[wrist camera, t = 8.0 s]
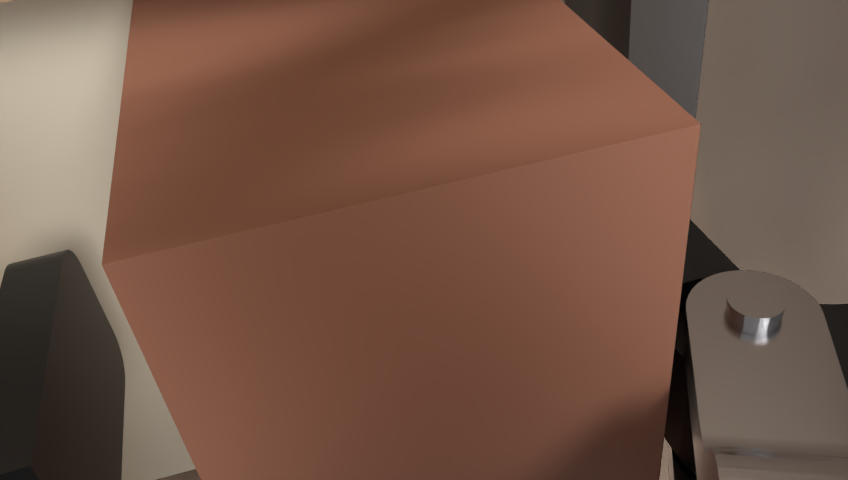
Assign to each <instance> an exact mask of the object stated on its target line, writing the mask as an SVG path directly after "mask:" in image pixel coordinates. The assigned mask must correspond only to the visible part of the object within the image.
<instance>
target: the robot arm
mask: <svg viewBox="0 0 848 480" xmlns="http://www.w3.org/2000/svg"><path fill="white" fill-rule="evenodd" d="M124 402H125V369H124V363H123V358H122V354H121V350H120V347H119V344H118V341H117V338H116V336H115V334H114V331H113V329H112V327H111V325H110V323H109V321H108V319H107V317H106V315H105V313H104V311H103V309H102V306H101V304H100V302H99V300H98V298H97V296H96V294H95V292H94V290H93V288H92V286H91V284H90V282H89V280H88V278H87V275H86V273H85V271H84V269H83V267H82V265H81V263H80V261H79V260H78V258H77V256H76V255H75V254H74V253H73V252H72V251H71V250H64V251H60V252H56V253H52V254H47V255H43V256H39V257H35V258H31V259H27V260H23V261H19V262H15V263H11V264H9V265H7V267H6V268H5V271H4V275H3V279H2V283H1V287H0V480H121V476H122V451H123V427H124ZM664 437H665V439H666V440H667V442H668V443H669V445H670V450H669V459H668V472H669V480H848V304H818V302H817V301H816V299H815V298H814V297H813V296H812V295H811V294H810V293H808V292H807V291H806V290H805V289H803V288H802V287H800V286H799V285H797V284H795V283H793V282H791V281H790V280H787V279H785V278H782V277H780V276H776V275H773V274H769V273H765V272H759V271H750V270H739V269H738V268H737V267H736V266H735V265H734V264H733V263H732V262H731V261H730V260H729V259H728V257H727V256H726V255H725V254H724V253H723V252H722V251H721V250H720V249H719V248H718V247H717V246H716V245H715V244H714V243H713V242H712V241H711V240H710V239H709V238H708V237H707V236H706V235H705V234H704V233H703V232H702V231H701V230H700V229H699V228H698V227H697V226H696V225H695V224H694V223H693V222H692V221H691V220H690V222H689V230H688V239H687V247H686V255H685V264H684V272H683V281H682V289H681V298H680V306H679V315H678V323H677V332H676V340H675V349H674V357H673V366H672V374H671V383H670V391H669V400H668V408H667V417H666V425H665V434H664Z"/></svg>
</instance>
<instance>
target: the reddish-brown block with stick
mask: <svg viewBox="0 0 848 480" xmlns="http://www.w3.org/2000/svg"><path fill="white" fill-rule="evenodd" d="M700 128H701V124H700V123H699V122H698V121H697V120H696V119H695V118H694V117H692V116H691V115H690V114H689V113H688V112H687V111H686V110H685V109H683V108H682V107H681V106H680V105H679V104H678V103H677V102H675V101H674V100H673V99H672V98H671V97H670V96H669V95H667V94H666V93H665V92H664V91H663V90H662V89H661V88H660V87H658V86H657V85H656V84H655V83H654V82H653V81H652V80H650V79H649V78H648V77H647V76H646V75H645V74H644V73H643V72H641V71H640V70H639V69H638V68H637V67H636V66H635V65H633V64H632V63H631V62H630V61H629V60H628V59H627V58H626V57H624V56H623V55H622V54H621V53H620V52H619V51H618V50H616V49H615V48H614V47H613V46H612V45H611V44H610V43H608V42H607V41H606V40H605V39H604V38H603V37H602V36H601V35H599V34H598V33H597V32H596V31H595V30H594V29H593V28H591V27H590V26H589V25H588V24H587V23H586V22H585V21H584V20H582V19H581V18H580V17H579V16H578V15H577V14H576V13H574V12H573V11H572V10H571V9H570V8H569V7H568V6H567V5H565V4H564V3H563V2H562V1H561V0H133V5H132V13H131V22H130V30H129V38H128V47H127V55H126V64H125V72H124V80H123V89H122V97H121V106H120V114H119V122H118V131H117V139H116V148H115V156H114V165H113V173H112V181H111V190H110V198H109V207H108V215H107V223H106V232H105V240H104V249H103V257H102V267H103V269H104V271H105V273H106V275H107V278H108V280H109V282H110V284H111V286H112V288H113V291H114V293H115V295H116V297H117V299H118V301H119V304H120V306H121V308H122V310H123V312H124V314H125V317H126V319H127V321H128V323H129V325H130V327H131V330H132V332H133V334H134V336H135V338H136V340H137V343H138V345H139V347H140V349H141V351H142V353H143V356H144V358H145V360H146V362H147V364H148V366H149V368H150V371H151V373H152V375H153V377H154V379H155V381H156V384H157V386H158V388H159V390H160V392H161V394H162V397H163V399H164V401H165V403H166V405H167V407H168V410H169V412H170V414H171V416H172V418H173V420H174V423H175V425H176V427H177V429H178V431H179V433H180V436H181V438H182V440H183V442H184V444H185V446H186V449H187V451H188V453H189V455H190V457H191V459H192V462H193V464H194V466H195V468H196V470H197V472H198V475H199V477H200V479H201V480H659V476H660V468H661V459H662V451H663V442H664V434H665V425H666V417H667V408H668V400H669V391H670V383H671V374H672V366H673V357H674V349H675V340H676V332H677V323H678V315H679V306H680V298H681V289H682V281H683V272H684V264H685V255H686V247H687V239H688V230H689V222H690V213H691V205H692V196H693V188H694V179H695V171H696V162H697V154H698V145H699V137H700Z"/></svg>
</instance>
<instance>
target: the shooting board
mask: <svg viewBox="0 0 848 480" xmlns="http://www.w3.org/2000/svg"><path fill="white" fill-rule="evenodd" d="M561 1H562V2H563V3H564V4H565V5H567V6H568V7H569V8H570V9H571V10H572V11H573V12H574V13H576V14H577V15H578V16H579V17H580V18H581V19H582V20H584V21H585V22H586V23H587V24H588V25H589V26H590V27H591V28H593V29H594V30H595V31H596V32H597V33H598V34H599V35H601V36H602V37H603V38H604V39H605V40H606V41H607V42H608V43H610V44H611V45H612V46H613V47H614V48H615V49H616V50H618V51H619V52H620V53H621V54H622V55H623V56H624V57H626V58H627V59H628V60H629V61H630V62H631V63H632V64H633V65H635V66H636V67H637V68H638V69H639V70H640V71H641V72H643V73H644V74H645V75H646V76H647V77H648V78H649V79H650V80H652V81H653V82H654V83H655V84H656V85H657V86H658V87H660V88H661V89H662V90H663V91H664V92H665V93H666V94H667V95H669V96H670V97H671V98H672V99H673V100H674V101H675V102H677V103H678V104H679V105H680V106H681V107H682V108H683V109H685V110H686V111H687V112H688V113H689V114H690V115H691V116H692V117H694V118H695V117H696V109H697V100H698V91H699V82H700V73H701V64H702V55H703V47H704V38H705V29H706V20H707V11H708V2H709V0H561ZM132 5H133V0H0V287H1V283H2V279H3V275H4V271H5V268H6V267H7V265H9V264H11V263H15V262H19V261H23V260H27V259H31V258H35V257H39V256H43V255H47V254H52V253H56V252H60V251H64V250H71V251H72V252H73V253H74V254H75V255H76V256H77V258H78V260H79V261H80V263H81V265H82V267H83V269H84V271H85V273H86V275H87V278H88V280H89V282H90V284H91V286H92V288H93V290H94V292H95V294H96V296H97V298H98V300H99V302H100V304H101V306H102V309H103V311H104V313H105V315H106V317H107V319H108V321H109V323H110V325H111V327H112V329H113V331H114V334H115V336H116V338H117V341H118V344H119V347H120V350H121V354H122V358H123V363H124V369H125V402H124V427H123V451H122V476H121V480H157V479H160V478H164V477H168V476H171V475H175V474H179V473H183V472H186V471H190V470H194V469H196V468H195V466H194V464H193V462H192V459H191V457H190V455H189V453H188V451H187V449H186V446H185V444H184V442H183V440H182V438H181V436H180V433H179V431H178V429H177V427H176V425H175V423H174V420H173V418H172V416H171V414H170V412H169V410H168V407H167V405H166V403H165V401H164V399H163V397H162V394H161V392H160V390H159V388H158V386H157V384H156V381H155V379H154V377H153V375H152V373H151V371H150V368H149V366H148V364H147V362H146V360H145V358H144V356H143V353H142V351H141V349H140V347H139V345H138V343H137V340H136V338H135V336H134V334H133V332H132V330H131V327H130V325H129V323H128V321H127V319H126V317H125V314H124V312H123V310H122V308H121V306H120V304H119V301H118V299H117V297H116V295H115V293H114V291H113V288H112V286H111V284H110V282H109V280H108V278H107V275H106V273H105V271H104V269H103V267H102V257H103V249H104V240H105V232H106V223H107V215H108V207H109V198H110V190H111V181H112V173H113V165H114V156H115V148H116V139H117V131H118V122H119V114H120V106H121V97H122V89H123V80H124V72H125V64H126V55H127V47H128V38H129V30H130V22H131V13H132Z"/></svg>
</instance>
